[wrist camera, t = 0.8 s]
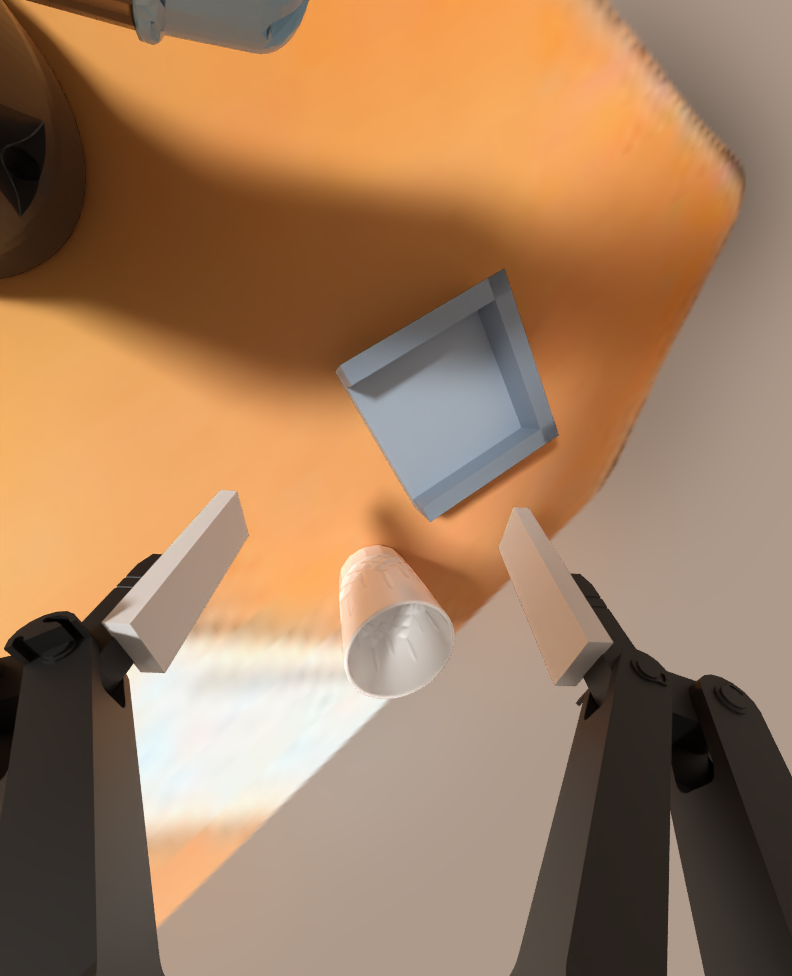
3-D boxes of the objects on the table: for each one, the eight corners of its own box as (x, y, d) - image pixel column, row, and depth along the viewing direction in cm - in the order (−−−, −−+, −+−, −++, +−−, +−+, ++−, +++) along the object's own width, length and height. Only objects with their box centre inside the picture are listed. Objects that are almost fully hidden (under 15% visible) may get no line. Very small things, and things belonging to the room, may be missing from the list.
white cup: (359, 623, 30) (382, 718, 21) (316, 569, 28) (320, 651, 18) (423, 580, 31) (471, 652, 22) (387, 523, 28) (425, 579, 19)
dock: (414, 507, 29) (430, 521, 25) (335, 371, 24) (340, 365, 20) (527, 431, 30) (558, 435, 26) (475, 289, 25) (504, 268, 21)
